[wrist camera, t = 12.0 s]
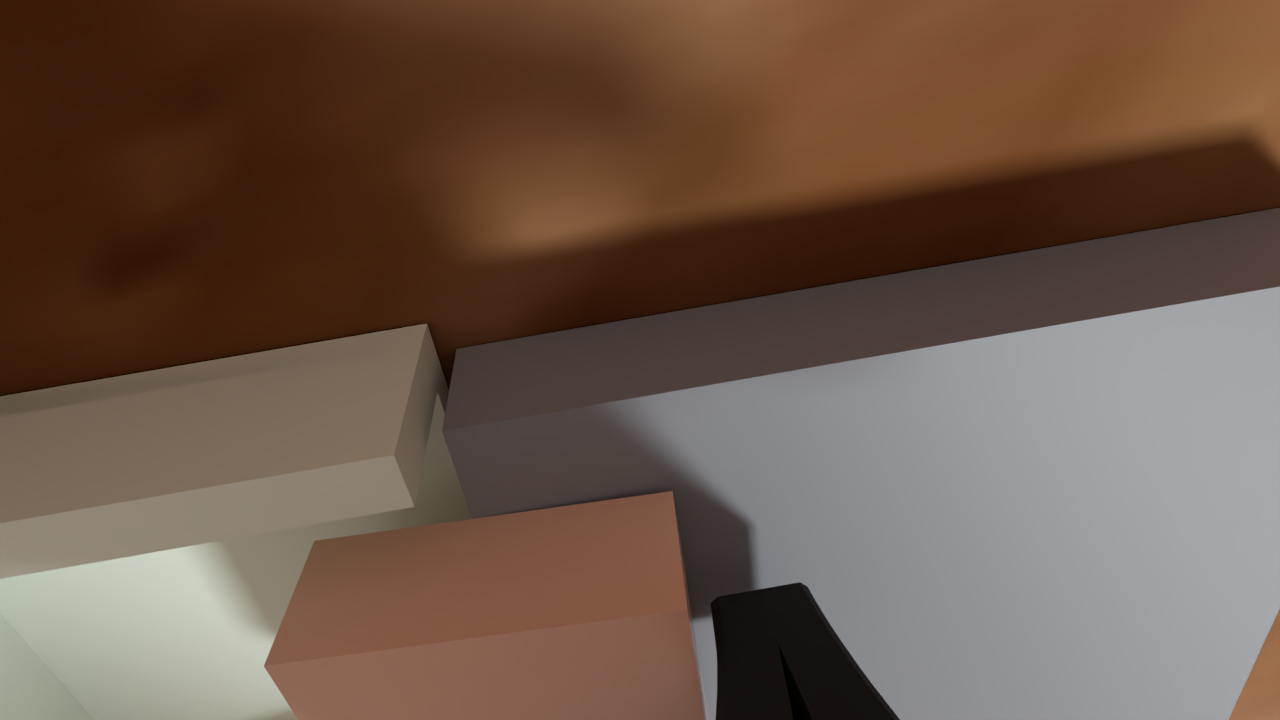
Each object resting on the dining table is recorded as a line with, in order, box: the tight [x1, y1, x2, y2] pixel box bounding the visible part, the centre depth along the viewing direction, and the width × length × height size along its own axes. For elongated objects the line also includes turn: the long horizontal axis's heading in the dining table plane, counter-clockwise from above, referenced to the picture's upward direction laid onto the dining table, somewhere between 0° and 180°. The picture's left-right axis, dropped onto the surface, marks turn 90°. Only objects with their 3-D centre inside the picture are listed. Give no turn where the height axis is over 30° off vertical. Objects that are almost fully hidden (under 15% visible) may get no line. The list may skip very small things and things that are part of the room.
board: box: [442, 208, 1280, 720], centre depth 15 cm, size 15×13×2 cm
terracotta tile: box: [264, 491, 708, 720], centre depth 11 cm, size 5×5×2 cm
